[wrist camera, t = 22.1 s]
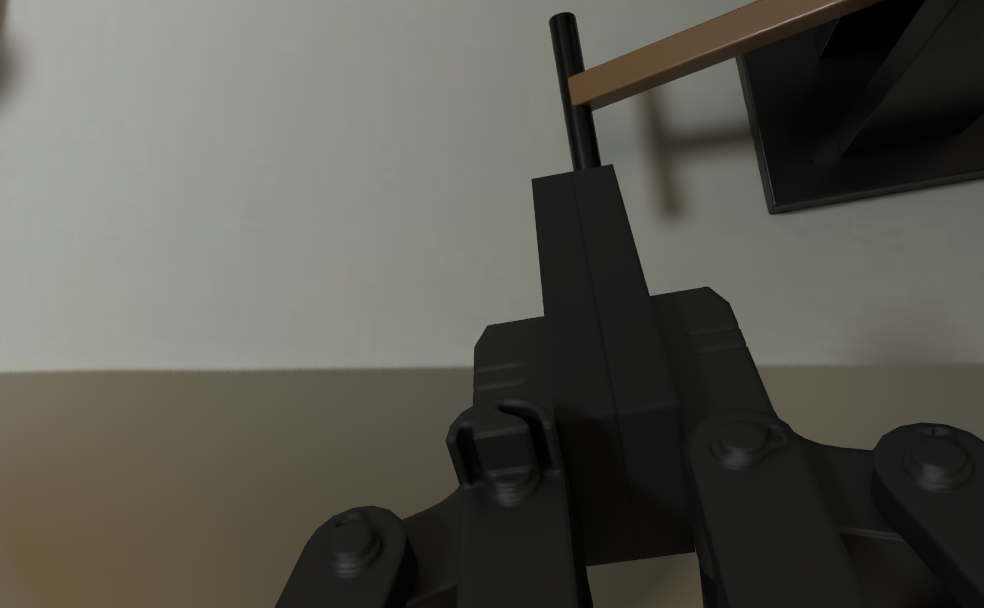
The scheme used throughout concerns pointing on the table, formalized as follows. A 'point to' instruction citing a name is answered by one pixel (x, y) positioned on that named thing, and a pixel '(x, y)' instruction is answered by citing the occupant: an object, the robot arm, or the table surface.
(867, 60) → the bracket
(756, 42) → the door lever
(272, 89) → the table surface
